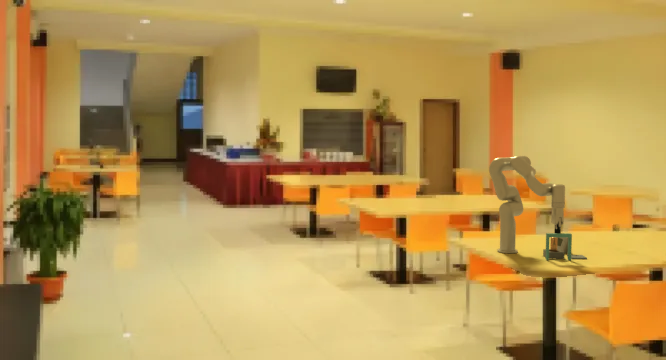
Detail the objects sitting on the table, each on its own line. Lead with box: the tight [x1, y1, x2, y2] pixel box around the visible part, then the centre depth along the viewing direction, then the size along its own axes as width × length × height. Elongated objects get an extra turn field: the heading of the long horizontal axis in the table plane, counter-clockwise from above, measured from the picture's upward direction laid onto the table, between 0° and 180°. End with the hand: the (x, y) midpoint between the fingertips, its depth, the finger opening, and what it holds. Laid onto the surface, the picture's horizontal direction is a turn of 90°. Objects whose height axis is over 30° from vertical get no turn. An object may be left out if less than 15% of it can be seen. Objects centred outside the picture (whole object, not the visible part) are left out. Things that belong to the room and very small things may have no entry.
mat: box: [566, 254, 588, 260], centre depth 419 cm, size 10×9×1 cm
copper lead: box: [549, 237, 558, 252], centre depth 419 cm, size 4×4×12 cm
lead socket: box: [542, 248, 566, 260], centre depth 420 cm, size 10×10×4 cm
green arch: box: [545, 232, 573, 261], centre depth 409 cm, size 3×14×16 cm, turn 88°
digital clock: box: [556, 237, 568, 254], centre depth 438 cm, size 16×9×11 cm, turn 174°
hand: (557, 235), depth 412 cm, fingers closed
